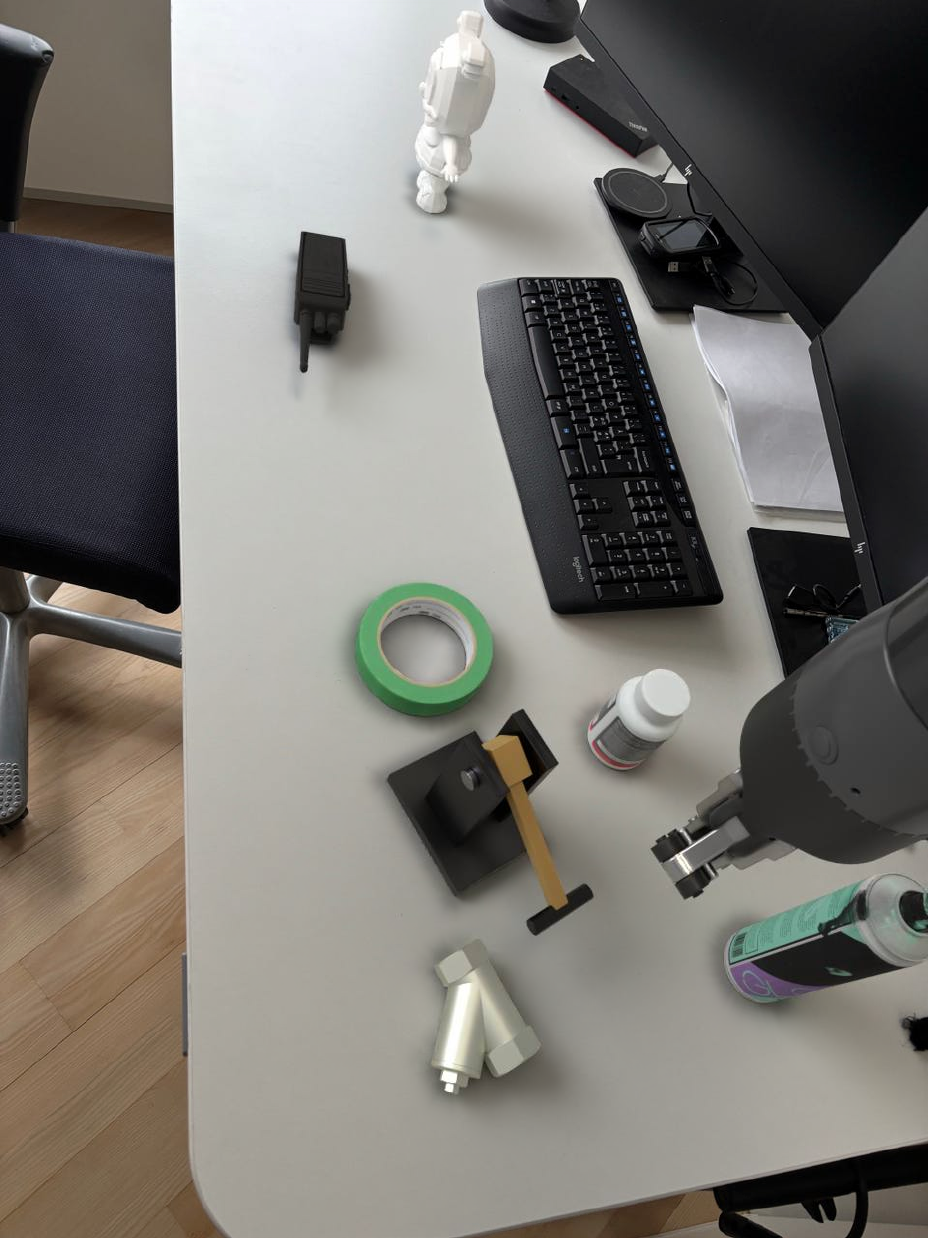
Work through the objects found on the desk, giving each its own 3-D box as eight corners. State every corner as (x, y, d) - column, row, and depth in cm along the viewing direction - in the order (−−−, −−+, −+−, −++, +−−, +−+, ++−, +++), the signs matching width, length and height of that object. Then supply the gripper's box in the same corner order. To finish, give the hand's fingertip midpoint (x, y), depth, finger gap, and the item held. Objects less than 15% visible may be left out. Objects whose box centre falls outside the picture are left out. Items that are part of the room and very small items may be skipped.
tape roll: (361, 719, 72) (366, 706, 70) (348, 598, 77) (353, 581, 75) (495, 713, 75) (504, 700, 73) (474, 597, 80) (482, 581, 78)
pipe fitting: (448, 1107, 60) (531, 1049, 63) (458, 1108, 57) (546, 1046, 60) (389, 995, 63) (471, 943, 65) (395, 989, 59) (482, 935, 62)
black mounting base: (539, 844, 71) (601, 789, 60) (454, 896, 67) (503, 847, 56) (471, 735, 74) (518, 665, 63) (386, 779, 70) (420, 712, 59)
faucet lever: (581, 895, 64) (601, 902, 62) (525, 932, 62) (543, 940, 60) (516, 725, 63) (534, 726, 61) (457, 757, 61) (473, 759, 59)
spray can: (737, 1010, 68) (914, 964, 51) (713, 934, 70) (875, 866, 54) (799, 996, 70) (990, 947, 53) (773, 922, 72) (949, 854, 55)
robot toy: (397, 246, 100) (436, 72, 84) (398, 134, 110) (433, -41, 94) (463, 258, 102) (514, 90, 86) (458, 147, 112) (503, -22, 96)
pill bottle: (653, 767, 76) (709, 721, 68) (595, 774, 75) (644, 728, 66) (635, 708, 79) (686, 657, 70) (578, 714, 77) (624, 662, 69)
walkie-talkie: (364, 251, 95) (366, 380, 84) (317, 280, 98) (313, 410, 86) (327, 205, 91) (323, 335, 80) (278, 237, 93) (269, 367, 82)
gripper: (844, 916, 29) (628, 994, 43) (1064, 740, 35) (809, 860, 49) (701, 719, 31) (541, 856, 46) (930, 585, 37) (724, 744, 52)
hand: (681, 858), depth 48 cm, fingers closed
